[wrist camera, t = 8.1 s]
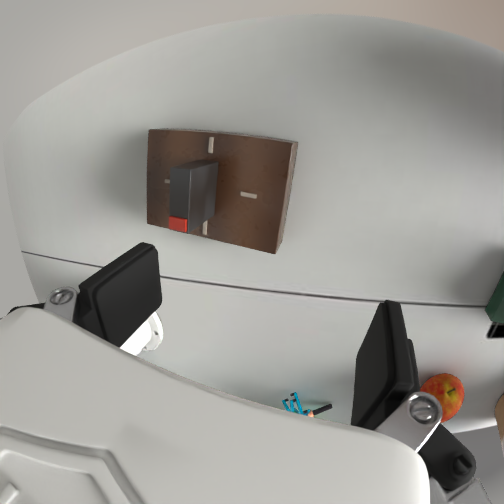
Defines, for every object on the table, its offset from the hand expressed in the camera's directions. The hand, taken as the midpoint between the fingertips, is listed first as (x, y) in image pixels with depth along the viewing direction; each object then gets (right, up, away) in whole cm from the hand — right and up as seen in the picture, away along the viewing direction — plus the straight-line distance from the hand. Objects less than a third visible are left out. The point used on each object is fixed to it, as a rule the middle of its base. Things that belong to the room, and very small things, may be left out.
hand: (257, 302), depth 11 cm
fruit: (+25, -20, +18) cm, 37 cm away
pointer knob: (-4, +8, +14) cm, 16 cm away
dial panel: (-3, +9, +16) cm, 19 cm away
